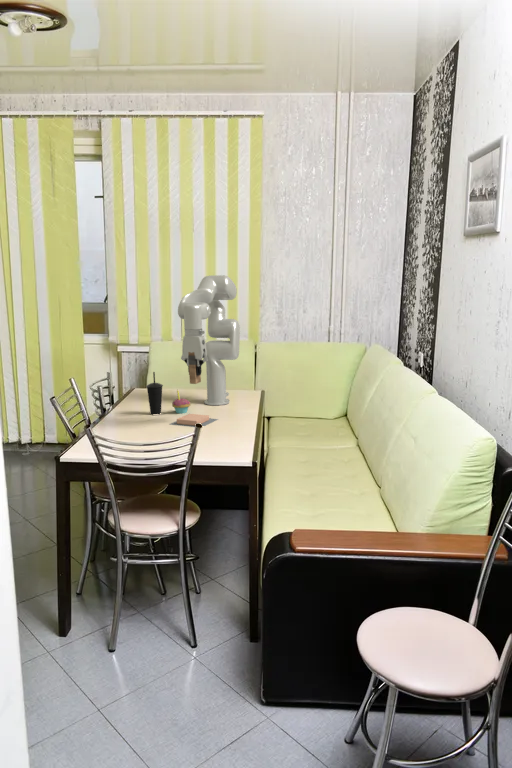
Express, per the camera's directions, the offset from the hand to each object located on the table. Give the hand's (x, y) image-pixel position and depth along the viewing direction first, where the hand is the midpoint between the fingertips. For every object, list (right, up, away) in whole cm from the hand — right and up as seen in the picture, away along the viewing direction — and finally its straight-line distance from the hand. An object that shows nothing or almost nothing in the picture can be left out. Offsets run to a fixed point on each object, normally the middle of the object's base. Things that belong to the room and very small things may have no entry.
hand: (195, 374), depth 272 cm
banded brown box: (0, -4, +1) cm, 4 cm away
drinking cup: (-20, -18, +20) cm, 34 cm away
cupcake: (-8, -18, +20) cm, 29 cm away
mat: (-1, -22, +2) cm, 22 cm away
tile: (+1, -19, +6) cm, 20 cm away
